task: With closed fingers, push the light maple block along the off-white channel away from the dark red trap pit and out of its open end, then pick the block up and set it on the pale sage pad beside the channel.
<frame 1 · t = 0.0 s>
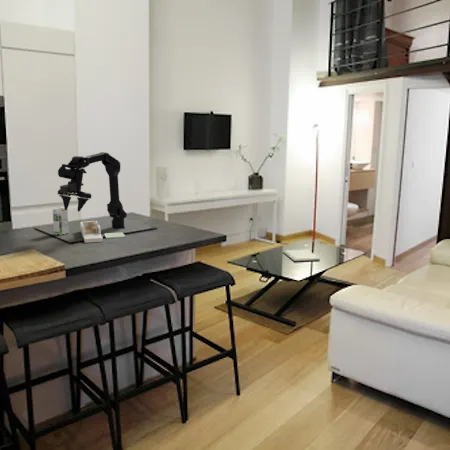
hand: (72, 210, 241), 15 cm above the kitchen island, tool pointing down, fingers open, 9 cm apart
trap channel: (90, 234, 255), on the kitchen island
maple block: (91, 232, 253), point 2 cm above the kitchen island, touching trap channel
sage pad: (114, 235, 254), on the kitchen island
syrup box: (61, 234, 256), on the kitchen island
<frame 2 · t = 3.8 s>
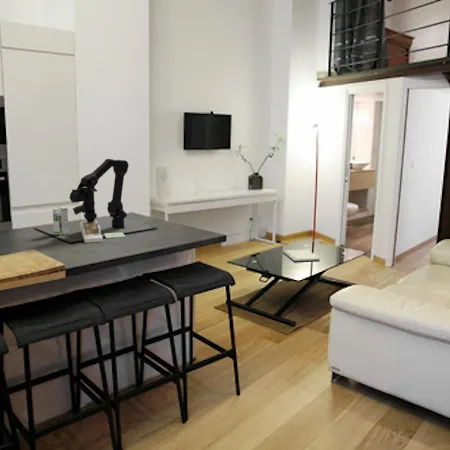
hand: (90, 228, 256), 3 cm above the kitchen island, tool pointing down, fingers closed
maple block: (91, 232, 252), point 2 cm above the kitchen island, touching gripper
everything else where it was.
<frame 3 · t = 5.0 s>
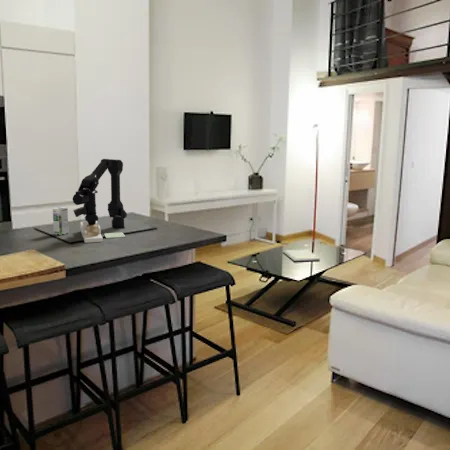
hand: (91, 230, 250), 3 cm above the kitchen island, tool pointing down, fingers closed
maple block: (92, 234, 246), point 2 cm above the kitchen island, touching gripper, trap channel
everything else where it was.
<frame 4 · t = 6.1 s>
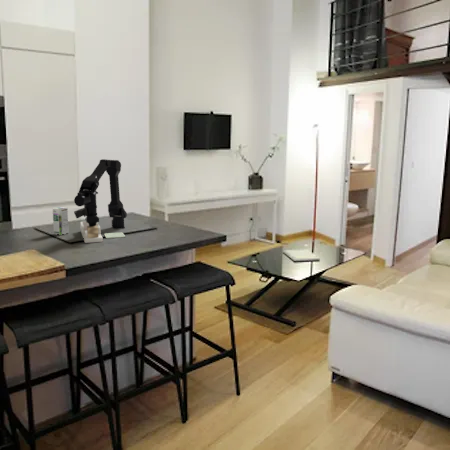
hand: (91, 232, 247), 3 cm above the kitchen island, tool pointing down, fingers closed
maple block: (92, 236, 243), point 2 cm above the kitchen island, touching gripper, trap channel
everything else where it was.
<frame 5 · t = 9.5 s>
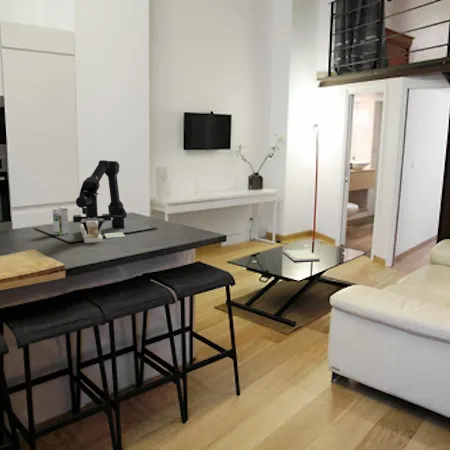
hand: (92, 234, 244), 3 cm above the kitchen island, tool pointing down, fingers closed on maple block, 5 cm apart
maple block: (92, 236, 243), point 2 cm above the kitchen island, touching gripper, trap channel
everything else where it was.
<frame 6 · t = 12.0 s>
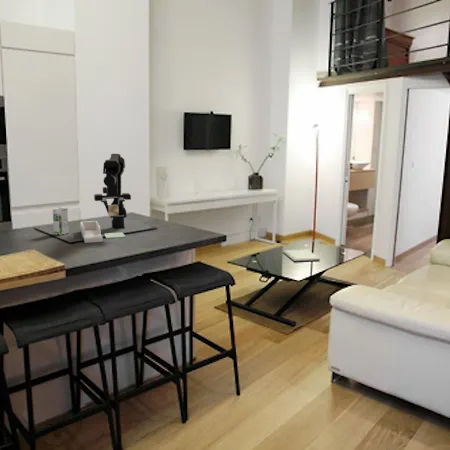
hand: (113, 212, 251), 13 cm above the kitchen island, tool pointing down, fingers closed on maple block, 5 cm apart
maple block: (113, 214, 250), point 12 cm above the kitchen island, touching gripper
everything else where it was.
when the fingers open (3 cm above the kitchen island, at t = 14.2 s): maple block drops 2 cm, resting on sage pad.
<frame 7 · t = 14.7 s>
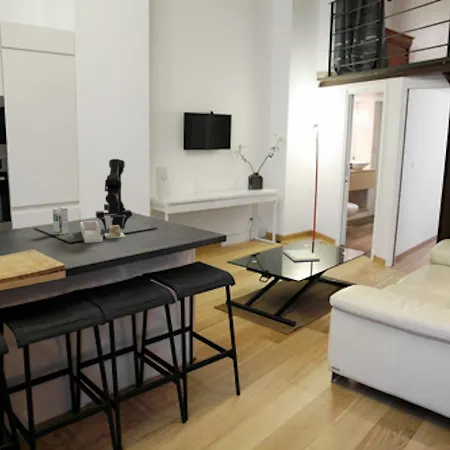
hand: (114, 229, 253), 3 cm above the kitchen island, tool pointing down, fingers open, 9 cm apart
maple block: (114, 235, 253), resting on sage pad
everything else where it was.
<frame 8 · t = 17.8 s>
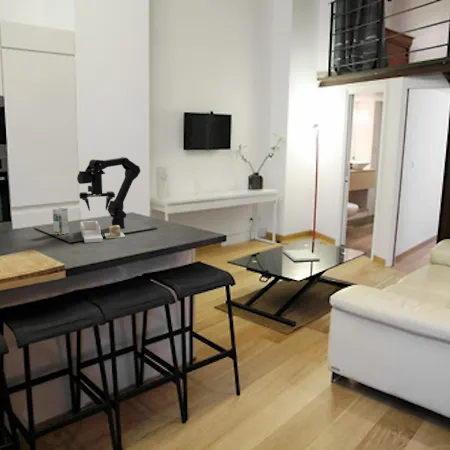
hand: (97, 210, 261), 12 cm above the kitchen island, tool pointing down, fingers open, 9 cm apart
nothing on the kitchen island moved.
at the end: maple block 1.0 cm off-centre on the sage pad, point 0.5 cm above the sage pad's base; maple block tilted 0°; the gripper is holding nothing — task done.
